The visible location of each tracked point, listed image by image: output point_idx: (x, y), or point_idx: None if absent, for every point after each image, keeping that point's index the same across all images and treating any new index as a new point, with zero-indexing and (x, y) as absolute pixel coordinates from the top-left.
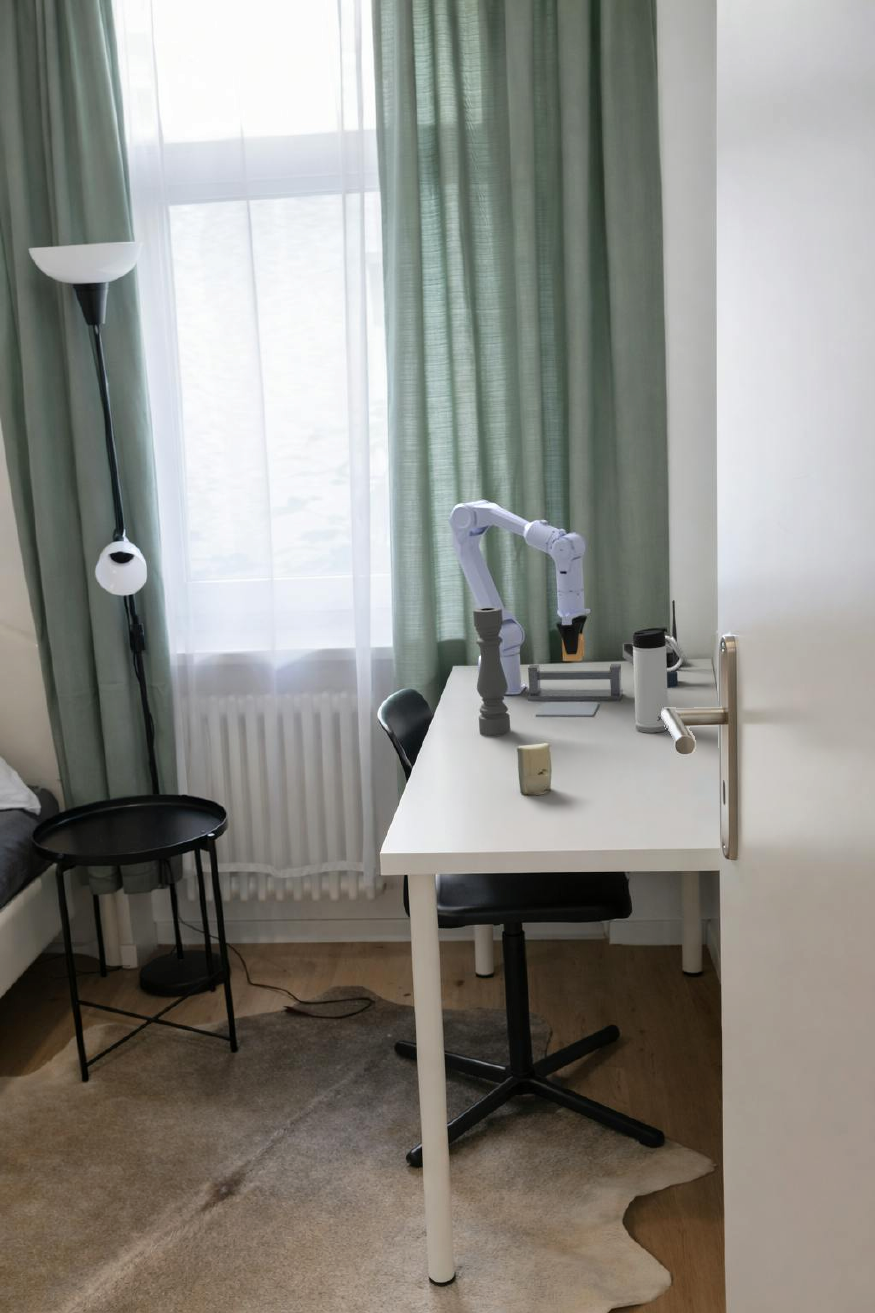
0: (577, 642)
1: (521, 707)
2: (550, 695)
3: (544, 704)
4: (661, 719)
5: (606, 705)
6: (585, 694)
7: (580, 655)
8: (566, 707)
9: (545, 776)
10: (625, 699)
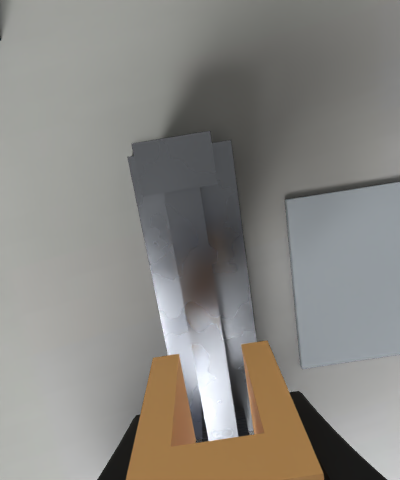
0: (348, 446)
1: (339, 411)
2: None
3: (326, 359)
4: None
5: (296, 170)
6: (222, 268)
7: (276, 362)
8: (359, 285)
9: None
10: (206, 124)
